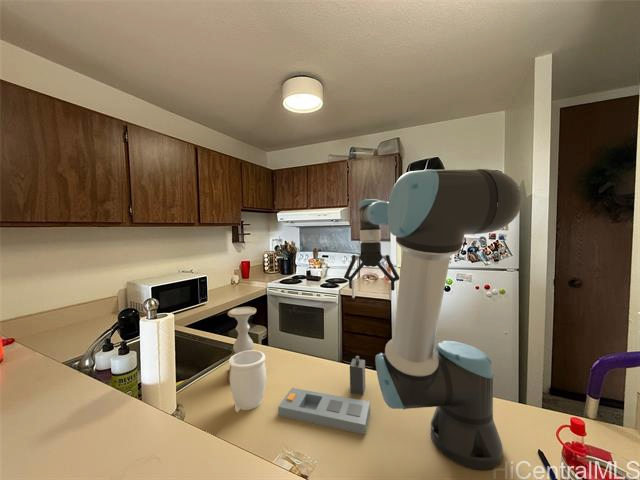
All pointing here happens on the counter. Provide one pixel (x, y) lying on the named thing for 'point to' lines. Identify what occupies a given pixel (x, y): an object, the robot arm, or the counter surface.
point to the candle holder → (242, 330)
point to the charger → (357, 376)
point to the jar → (247, 379)
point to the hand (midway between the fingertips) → (371, 298)
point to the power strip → (326, 410)
